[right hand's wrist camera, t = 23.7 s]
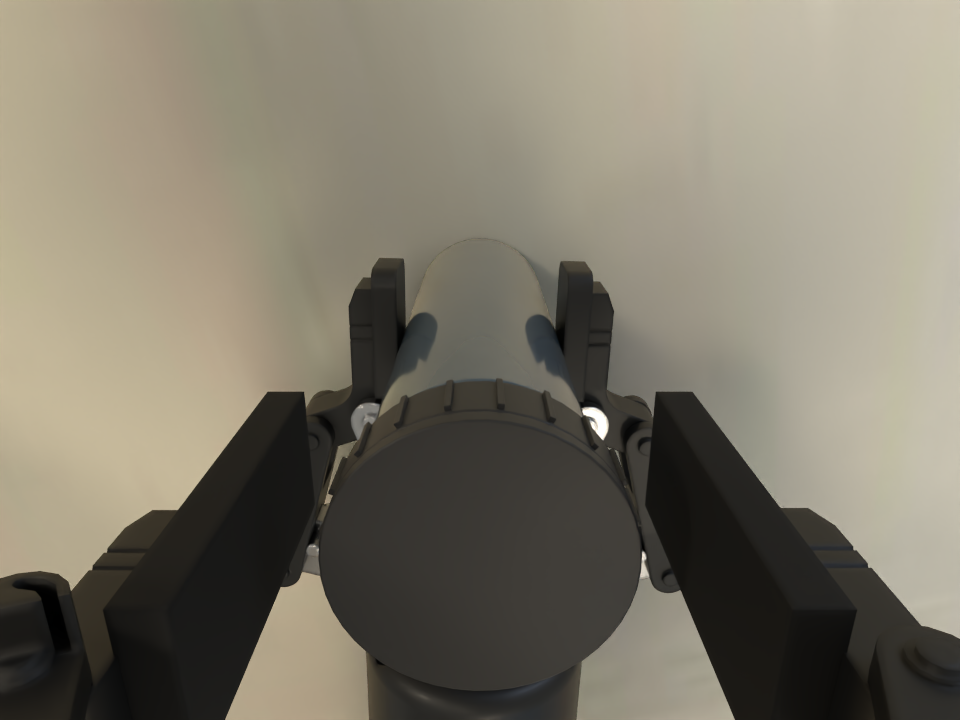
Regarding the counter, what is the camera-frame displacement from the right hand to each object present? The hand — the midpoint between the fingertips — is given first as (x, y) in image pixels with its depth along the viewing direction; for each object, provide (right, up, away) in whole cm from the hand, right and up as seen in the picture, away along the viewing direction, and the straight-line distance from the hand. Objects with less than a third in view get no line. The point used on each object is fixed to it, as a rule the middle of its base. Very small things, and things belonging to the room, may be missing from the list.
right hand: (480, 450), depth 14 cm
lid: (0, -1, -3) cm, 4 cm away
